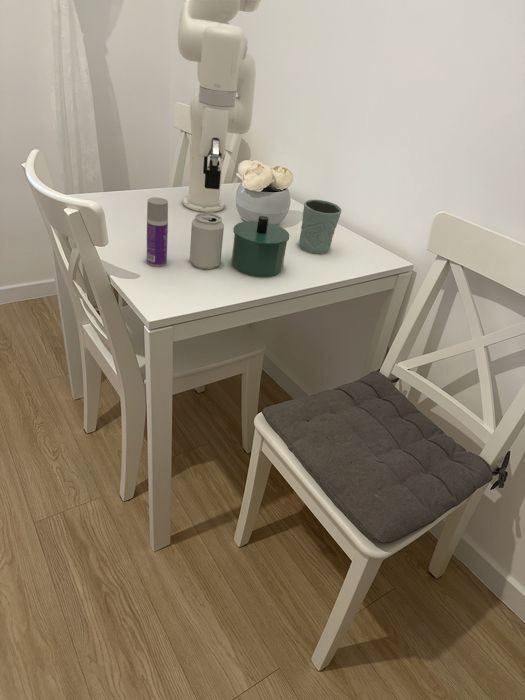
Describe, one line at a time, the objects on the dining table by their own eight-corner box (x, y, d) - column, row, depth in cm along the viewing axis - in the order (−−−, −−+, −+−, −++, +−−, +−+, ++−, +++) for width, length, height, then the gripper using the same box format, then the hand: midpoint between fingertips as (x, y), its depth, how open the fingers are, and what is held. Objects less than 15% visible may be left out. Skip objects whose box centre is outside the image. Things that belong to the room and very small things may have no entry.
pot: (233, 275, 121) (237, 242, 116) (230, 253, 131) (233, 221, 126) (285, 278, 123) (291, 246, 119) (277, 256, 133) (282, 225, 129)
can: (215, 273, 121) (219, 225, 114) (185, 266, 121) (187, 218, 115) (223, 261, 127) (228, 214, 120) (194, 254, 128) (197, 208, 121)
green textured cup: (306, 237, 147) (314, 196, 141) (338, 248, 144) (347, 207, 137) (290, 247, 140) (297, 204, 133) (323, 259, 136) (332, 215, 130)
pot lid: (235, 245, 116) (237, 226, 114) (230, 223, 127) (232, 205, 125) (293, 249, 119) (296, 230, 116) (283, 227, 130) (286, 210, 127)
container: (167, 266, 120) (169, 204, 112) (147, 266, 119) (148, 204, 110) (165, 258, 124) (166, 197, 115) (145, 258, 122) (145, 196, 114)
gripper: (197, 87, 110) (193, 167, 120) (200, 104, 97) (194, 192, 107) (232, 92, 112) (225, 170, 122) (239, 109, 98) (230, 196, 108)
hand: (210, 181), depth 114 cm, fingers open, 9 cm apart
